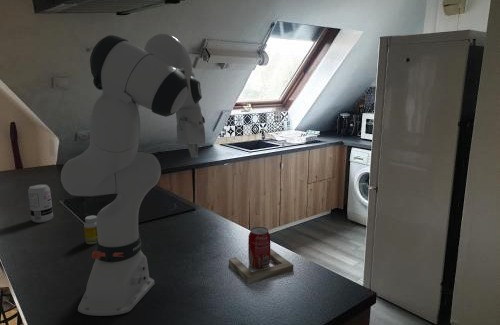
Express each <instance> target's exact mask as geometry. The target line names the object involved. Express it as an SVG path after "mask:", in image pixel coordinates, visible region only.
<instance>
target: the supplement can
mask: <svg viewBox="0 0 500 325" xmlns="http://www.w3.org/2000/svg"><path fill="white" fill-rule="evenodd" d="M51 194H52V193H51V188H50V186H49V185H48V184H46V183H45V184H44V183H42V184H34V185H31V186H29V187H28V190H27V196H28V202H29V209H30V210H29V211H30V218H31V221H32V222H34V223H38V224H39V223H46V222H49V221H51V220H52V219H53V218H54V211H53V204H52V196H51Z"/></svg>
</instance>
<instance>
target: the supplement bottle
mask: <svg viewBox="0 0 500 325" xmlns="http://www.w3.org/2000/svg"><path fill="white" fill-rule="evenodd" d="M96 217H97V215H87V216H86V217H85V218H84V221H85V222H84V224H83V231H84V241H85V243H86V244H88V245H95V244H97V241H98V236H97V226H96Z"/></svg>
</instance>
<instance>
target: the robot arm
mask: <svg viewBox="0 0 500 325" xmlns="http://www.w3.org/2000/svg"><path fill="white" fill-rule="evenodd" d="M89 65H90V66H89V67H90V73H91V75H92V77H93V81H92V82H93V85H94V87H95V88H96V89H97V90H99V91H102V94H101V95H100V96H99V97H98V98H97V99H96V100H95V103H94V104H93V107H92V111H91V116H90V122H89V146H88V148H86V149H85V150H84V151H83V152H82V153H81V154H79V155H77V156H76V157H73V158H71V159H68V160H67V161H66V162H65V163H64V164H63V167H62V169H61V171H60V172H61V173H60V182H61V185H62V187H63V189H64V190H65V191H66V192H67V194H69V195H71V196H75V197H76V196H77V197H95V196H96V197H97V196H104V195H105V196H106V195H113V194H116V197H115V198H114V200H113V201H111V202H110V203H109V204H107V205H105V206H104V207H103V208H102V209H100V210H99V211H98V212H97V215H96V216H97V217H96V226H97V236H98V241H97V243H96V246H95V250H93V251H92V253H91V258H92V259H94V263H93V265H92V268H91V272H90V274H89V277H88V281H87V282H86V290H85V291H84V293H83V295H82V298H81V301H80V302H79V305H78V307H77V312H79V313H81V314H83V315H87V316H97V317H102V316H104V317H106V316H107V317H109V316H117V315H123V314H126V313H130V311H132V310H133V309H134V307H136V306H137V304H138V303H139V302H140V301H141V300H142V298H143V297H145V295H146V294H147V293H148V292H149V291H150V290H151V289H152V288H153V286H155V280H154V279H153V278H151V277H150V273H149V266H148V265H149V264H148V258H147V256H146V255H145V254H144V253H143V252H142V240H141V236H140V234H139V212H140V208H141V204H142V202H143V200H144V199H145V196H146V195H147V194H148V193H149V192H150V191H151V189H153V188H154V187H155V186H156V185H157V184H158V183H159V180H160V178H161V175H162V168H161V164H160V161H159V159H158V158H157V157H156V156H155V155H154V154H153V153H148V152H141V151H139V152H138V150H139V145H140V144H139V142H140V136H141V116H140V112H139V106H141V107H143V108H146V109H148V110H151V112H152V113H154V114H155V115H159V116H162V117H166V118H167V117H170V116H173V115H175V119H176V137H177V138H176V139H177V143H178V145H179V146H187V149H188V151H189V155H190V158H191V159H194V158H195V159H196V158H199V153H198V152H199V145H204V144H205V143H206V132H205V131H206V128H205V124H206V120H205V117H204V116H203V114H202V109H201V108H202V107H201V106H200V101H201V99H202V98H203V97H202V88H201V82H200V81H199V80H198V79H196V76H195V74H194V72H193V64H192V60H191V57H190V54H189V52H188V50H187V48H186V47H185V46H184V44H183V43H182V42H181V41H180V40H178V38H177V37H175V36H173V35H171V34H168V33H158V34H156V35H153V36H151V38H149V40H148V41H146V44H145V46H144V48H142V47H140V46H137V45H135V44H134V43H132V42H129V40H128V39H126V38H123V37H120V36H118V35H112V34H109V35H106V36H104V37H103V38H101V39H100V40H98V42H97V43H96V44H95V45H94V47H93V49H92V51H91V53H90V57H89Z"/></svg>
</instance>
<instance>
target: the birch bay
mask: <svg viewBox="0 0 500 325" xmlns="http://www.w3.org/2000/svg"><path fill="white" fill-rule="evenodd" d="M270 262H272V263H273V264H274V265H271V266H269V267H268V266H267V267H265V268H262V269H257V270H254V271H252V270H251V269H249V268H248V267H247V266H246V265H245V264H244V263H243V262H242V261H241V260H239V258H237V257H231V258H228V265H229V266H230V267H231V268H232V269H233V270H234V271H235V272H236V273H237V274H238V275H239V276H240V278H242V279H243V280H244V281H245V282H246V283H247V284H248V285H249V284H252V283H256V282H260V281H263V280H267V279H270V278H273V277H277V276H280V275H284V274H287V273H290V272H294V264H293V263H292V262H290V261H289V260H287V259H286V258H285V257H283V256H282V255H281V254H279V253H278V252H276V251H275V250H274V249H272V248H270Z"/></svg>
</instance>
